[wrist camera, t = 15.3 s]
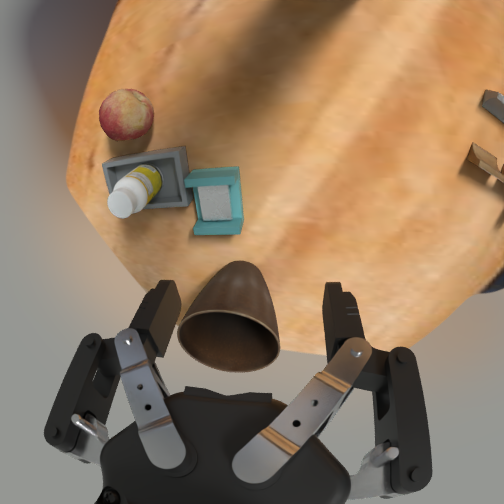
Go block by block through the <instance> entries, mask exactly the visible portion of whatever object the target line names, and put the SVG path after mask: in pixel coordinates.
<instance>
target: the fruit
mask: <svg viewBox="0 0 504 504" xmlns="http://www.w3.org/2000/svg"><path fill="white" fill-rule="evenodd" d="M153 117H154V110H153V106H152V103H151V101H150V100H149V99H148V98H147V97H146V96H145V95H144V94H143V93H141V92H139V91H137V90H134V89H120V90H117V91H114V92H112V93H111V94H110V95H109V96H108V97H107V98H106V99H105V100H104V101H103V103H102V105H101V107H100V109H99V121H100V124H101V127H102V129H103V130H104V132H105V133H106V135H107V136H108V137H110V138H111V139H113V140H116V141H125V140H131V139H136V138H139V137H141V136H143V135H144V134H146V133H147V131H148V130H149V129H150V127H151V125H152V122H153Z"/></svg>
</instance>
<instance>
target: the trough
mask: <svg viewBox="0 0 504 504" xmlns="http://www.w3.org/2000/svg"><path fill="white" fill-rule="evenodd" d="M144 163H150V164H153V165H155V166H157V167H158V168H159V169H160V171H161V173H162V175H163V186H162V188H161V189H160V191H159V192H158V193H157V194H156V195H155V196H154V197H153V198H152V199H151V200H150V201H149V203H148V204H147V205H146V206H145V207H144V208H143V209H153V208H167V207H184V206H189V204H190V203H191V201H192V200H193V198H194V197H193V191H192V187H188V188H185V182H184V179H185V178H186V177H187V176H188V175H189V174H190V173H189V167H188V161H187V154H186V147H185V146H182V147H174V148H167V149H160V150H154V151H148V152H142V153H136V154H130V155H125V156H120V157H115V158H111V159H109V160H108V161H106V162H104V163H102V167H103V171H104V175H105V179H106V183H107V187H108V190H109V194H111V193H112V192H113V189H114V186H115V185H116V183H117V182H118V181H119V180H120V179H122V178H123V177H124V176H126V175H127V174H128V173H130V172H131V171H132V170H134V169H135V168H136V167H138V166H139V165H141V164H144Z"/></svg>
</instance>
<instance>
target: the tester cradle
mask: <svg viewBox="0 0 504 504" xmlns="http://www.w3.org/2000/svg"><path fill="white" fill-rule="evenodd" d="M184 182H185V188H188V187H193V192H194V197H195V203H196V209H197V214H198V220H197V222H196V224H195V226H194V228H193V230H194V235H227V234H240V233H241V229H242V225H243V222H244V215H243V205H242V194H241V183H240V173H239V167H221V168H207V169H195V170H193V171H192V172H191V173H190V174H189V175H188V176H187V177H186V178H185V179H184ZM219 185H229V188H230V197H231V206H232V214H233V218H232V220H215V221H203V217H202V211H201V205H200V199H199V193H198V187H202V186H219Z"/></svg>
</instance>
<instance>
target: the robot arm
mask: <svg viewBox="0 0 504 504" xmlns="http://www.w3.org/2000/svg"><path fill="white" fill-rule="evenodd" d="M180 311H181V299H180V296H179V293H178V290H177V287H176V284H175V281H173V280H160V281H159V282H158V284H157V286H156V288H155V289H151V290H150V291H149V292H148V293H147V294H146V295H145V297H144V298H143V301H142V303H141V304H140V306H139V309H138V310H137V312H136V314H135V316H134V318H133V320H132V322H131V324H130V326H129V328H127V329H124V330H122V331H120V332H119V333H118V334H117V336H116V337H115V338H109V339H102V338H101V336H100V335H99V334H96V333H91V334H88V335H87V336H85V337H84V338H83V339H82V341H81V343H80V345H79V347H78V349H77V351H76V353H75V355H74V357H73V360H72V362H71V364H70V366H69V368H68V370H67V373H66V375H65V377H64V380H63V382H62V384H61V387H60V389H59V392H58V394H57V396H56V399H55V401H54V405H53V407H52V409H51V412H50V415H49V417H48V420H47V423H46V426H45V429H44V437H45V439H46V441H47V442H48V443H49V444H50V445H52V446H54V447H55V448H57V449H59V450H60V451H61V452H63V453H65V454H66V455H68V456H70V457H72V458H74V459H78V460H80V461H82V462H84V463H94V464H96V465H99V466H101V469H102V475H103V490H102V492H101V494H100V496H99V498H98V499H97V501H96V502H95V503H94V504H345V502H346V501H347V500H355V499H363V498H371V497H378V496H379V497H381V498H385V499H388V498H393V497H397V496H401V495H405V494H409V493H412V492H416V491H419V490H421V489H423V488H424V487H425V486H426V485H427V484H428V483H429V482H430V480H431V477H432V459H431V446H430V436H429V429H428V420H427V414H426V407H425V401H424V395H423V390H422V385H421V380H420V376H419V370H418V366H417V361H416V357H415V355H414V353H413V352H412V351H411V350H410V349H408V348H406V347H396V348H394V349H392V350H391V352H387V351H382V350H378V349H375V348H373V347H372V346H371V345H370V344H369V342H367V341H366V339H365V336H364V331H363V327H362V323H361V318H360V315H359V310H358V306H357V302H356V299H355V297H354V296H353V295H352V294H351V293H350V292H343V291H342V287H341V283H340V282H326V284H325V291H324V298H323V306H322V313H323V323H324V332H325V341H326V352H327V363H328V365H327V366H326V367H325V368H324V370H323V371H322V372H318V373H317V374H316V375H315V376H314V377H313V378H312V379H311V380H310V382H309V383H308V384H307V385H306V386H305V387H304V389H303V390H302V391H301V392H300V393H299V394H298V395H297V397H296V398H295V399H294V400H293V401H292V402H291V403H290V404H289V405H286V404H284V403H282V402H281V401H278V400H275V399H272V393H252V392H249V393H243V394H237V395H230V396H226V395H222V394H219V393H216V392H213V391H211V390H208V389H203V388H196V387H188V386H186V387H185V391H184V392H179V393H176V394H173V395H170V393H169V392H168V390H167V388H166V386H165V384H164V381H163V379H162V377H161V375H160V372H159V370H158V368H157V366H156V363H155V359H156V357H164V355H165V352H166V349H167V346H168V344H169V341H170V338H171V335H172V333H173V330H174V327H175V325H176V322H177V319H178V317H179V314H180ZM96 371H97V372H96ZM95 373H96V375H95ZM94 376H95V377H94ZM120 377H121V379H122V383H123V386H124V389H125V392H126V395H127V398H128V401H129V404H130V407H131V410H132V413H133V415H134V418H135V421H134V422H133V423H132V424H130V425H129V426H128V427H126V428H125V429H123V430H122V431H121V432H119V433H118V434H117V435H115V436H114V437H112V438H111V439H109V437H108V430H107V428H106V426H105V424H106V421H107V417H108V414H109V411H110V408H111V404H112V401H113V398H114V395H115V392H116V389H117V386H118V383H119V380H120ZM93 378H94V380H93ZM354 388H359V389H363V390H368V391H372V395H373V407H374V423H375V448H373V449H372V450H371V451H370V452H368V453H367V454H366V455H365V456H364V458H363V460H362V463H361V467H360V470H359V471H358V473H357V474H355V475H352V476H350V475H349V473H348V471H347V470H346V469H345V467H344V466H343V465H342V464H341V463H340V462H339V461H338V460H337V459H336V458H335V457H334V456H333V455H332V453H331V452H329V450H328V449H327V448H326V447H325V445H324V444H323V443H322V442H321V441H320V440H319V439H318V437H319V436H320V435H321V433H322V432H323V431H324V430H325V429H326V427H327V426H328V425H329V423H330V422H331V420H332V419H333V418H334V416H335V415H336V413H337V412H338V411H339V409H340V408H341V406H342V405H343V403H344V402H345V401H346V400H347V398H348V397H349V395H350V394H351V392H352V391H353V390H354Z"/></svg>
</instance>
